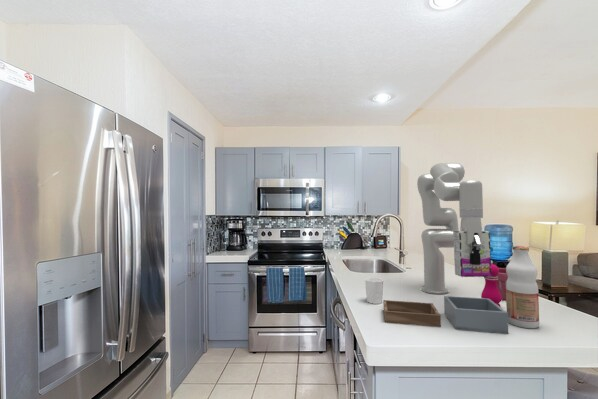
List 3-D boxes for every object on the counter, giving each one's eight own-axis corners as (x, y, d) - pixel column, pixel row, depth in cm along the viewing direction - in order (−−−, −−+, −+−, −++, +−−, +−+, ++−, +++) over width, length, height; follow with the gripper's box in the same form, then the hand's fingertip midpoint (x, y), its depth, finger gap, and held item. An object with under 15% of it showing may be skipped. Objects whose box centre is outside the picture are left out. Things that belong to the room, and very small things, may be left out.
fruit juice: (500, 320, 110) (498, 245, 111) (520, 318, 112) (518, 244, 113) (525, 330, 101) (522, 248, 102) (546, 327, 103) (543, 247, 104)
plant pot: (481, 295, 141) (480, 269, 142) (499, 292, 147) (498, 266, 147) (513, 304, 128) (512, 275, 129) (531, 300, 134) (531, 272, 134)
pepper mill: (505, 311, 120) (503, 262, 120) (485, 310, 121) (484, 261, 122) (497, 305, 127) (495, 259, 127) (478, 304, 128) (477, 258, 129)
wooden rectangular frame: (383, 309, 122) (383, 300, 122) (432, 313, 117) (432, 303, 117) (385, 322, 108) (385, 311, 108) (441, 327, 104) (440, 315, 104)
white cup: (384, 300, 135) (383, 278, 135) (383, 305, 127) (382, 282, 128) (366, 298, 137) (366, 277, 138) (364, 303, 130) (364, 280, 130)
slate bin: (444, 313, 117) (444, 295, 117) (489, 316, 113) (489, 298, 114) (455, 329, 102) (455, 309, 102) (508, 333, 98) (507, 312, 98)
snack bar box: (483, 274, 111) (482, 230, 111) (492, 277, 106) (490, 231, 106) (453, 274, 111) (452, 230, 111) (461, 277, 106) (460, 231, 106)
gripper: (453, 213, 118) (454, 258, 117) (467, 214, 101) (468, 266, 101) (474, 213, 116) (475, 259, 116) (491, 214, 100) (493, 267, 99)
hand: (472, 262), depth 108 cm, fingers closed on snack bar box, 5 cm apart
